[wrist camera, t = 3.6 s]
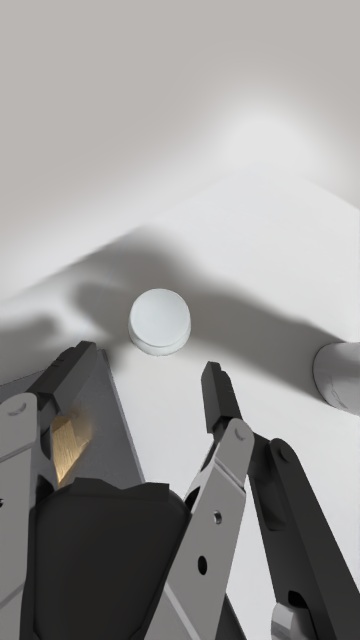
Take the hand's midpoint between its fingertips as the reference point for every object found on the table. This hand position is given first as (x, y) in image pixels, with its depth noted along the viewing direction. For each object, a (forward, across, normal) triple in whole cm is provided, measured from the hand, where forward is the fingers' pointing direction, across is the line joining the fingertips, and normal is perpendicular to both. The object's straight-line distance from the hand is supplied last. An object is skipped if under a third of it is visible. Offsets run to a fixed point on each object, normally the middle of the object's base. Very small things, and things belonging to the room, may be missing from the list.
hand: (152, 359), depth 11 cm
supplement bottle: (+8, 0, +4) cm, 9 cm away
